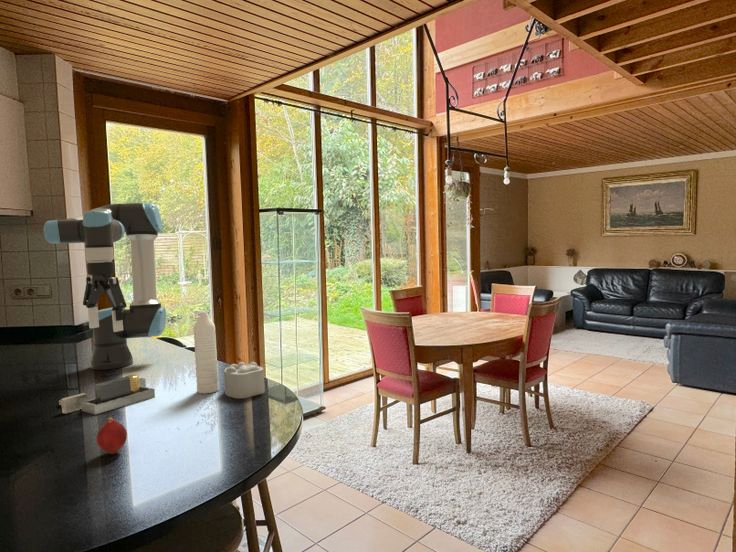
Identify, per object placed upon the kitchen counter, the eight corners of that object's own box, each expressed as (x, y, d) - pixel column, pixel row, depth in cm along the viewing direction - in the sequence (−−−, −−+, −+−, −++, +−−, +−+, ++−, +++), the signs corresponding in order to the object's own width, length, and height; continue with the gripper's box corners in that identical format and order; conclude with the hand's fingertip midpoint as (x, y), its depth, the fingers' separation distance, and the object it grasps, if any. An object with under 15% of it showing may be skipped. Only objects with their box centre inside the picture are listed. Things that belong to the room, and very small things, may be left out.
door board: (128, 387, 160) (127, 375, 159) (162, 394, 149) (161, 381, 149) (48, 408, 140) (47, 394, 139) (81, 418, 129) (80, 404, 129)
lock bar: (103, 410, 135) (100, 386, 135) (95, 408, 138) (93, 384, 137) (143, 398, 145) (141, 375, 145) (135, 396, 148) (133, 374, 147)
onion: (105, 449, 108) (103, 413, 107) (132, 447, 108) (129, 412, 108) (92, 460, 102) (90, 423, 101) (121, 458, 102) (118, 421, 102)
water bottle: (221, 391, 150) (217, 311, 149) (200, 395, 147) (195, 313, 145) (213, 385, 157) (209, 309, 156) (192, 389, 154) (188, 311, 153)
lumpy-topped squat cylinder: (238, 400, 140) (236, 370, 140) (217, 392, 150) (215, 364, 149) (269, 391, 148) (267, 363, 147) (247, 384, 157) (246, 358, 157)
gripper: (135, 260, 146) (140, 330, 147) (91, 260, 159) (96, 324, 161) (111, 262, 139) (117, 335, 141) (67, 262, 153) (72, 328, 154)
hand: (106, 329), depth 151 cm, fingers open, 13 cm apart
